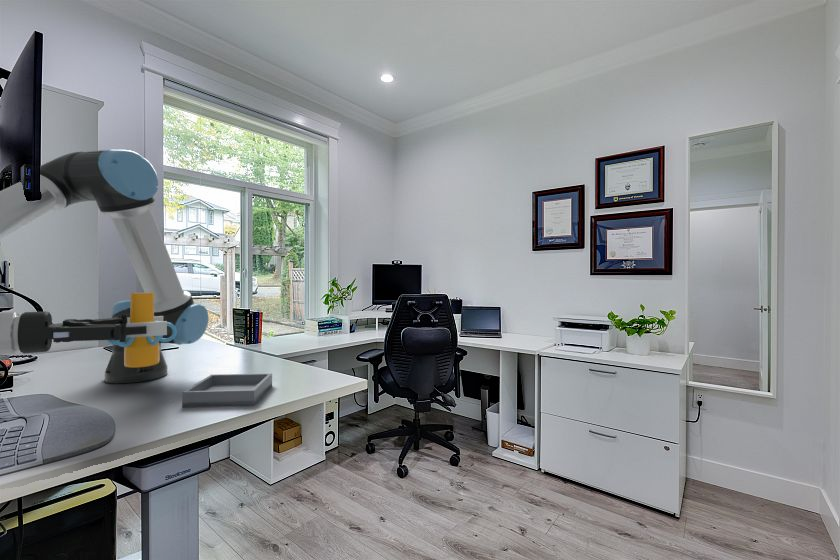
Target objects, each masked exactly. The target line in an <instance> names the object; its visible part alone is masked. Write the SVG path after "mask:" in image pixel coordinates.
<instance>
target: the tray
mask: <svg viewBox="0 0 840 560" xmlns="http://www.w3.org/2000/svg"><path fill="white" fill-rule="evenodd" d="M272 387H273V373H238V374H237V373H236V374H235V373H234V374H233V373H230V374H229V373H227V374H226V373H225V374H224V373H223V374H210V375H209V376H207V377H204V378H203V379H202V380H199V381H198V382H197V383H195V384H193V385H192V386H190V387H189V388H187V389H185V390H183V391H182V392H181V394H182V395H181V397H182V399H181V402H182V403H181V408H202V407H203V408H205V407H207V408H208V407H209V408H210V407H241V406H243V407H244V406H255V405H256V404H257V403H258V402H259V401H260V400H261V399H262V397H264V396H265V394H267V393H268V392H269V390H270V389H272Z"/></svg>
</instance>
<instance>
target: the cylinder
mask: <svg viewBox="0 0 840 560" xmlns="http://www.w3.org/2000/svg"><path fill="white" fill-rule="evenodd" d="M129 296H130V323H143V322H154V293H153V292H144V291H141V292H140V291H139V292H130V295H129ZM155 322H160V321H155ZM115 325H120V324H115ZM167 326H169V327H171V329H172V330H173V333H172V335H171V336H170V337H169V338H165V339H164V338H162V337H163V335H160V336H146V337H131V338H126V342H127V343H126V342H120V340H116V341H114V340H106V341H107V342H108V343H109V344H111V345H112V344H114V345H119V346H121V347H124V366H125V367H131V368H132V367H133V368H134V367H146V366H152V365H155V364H158V363H159V359H160V345H159V341H160V342H169V341H171V340H173V339H174V338H175V336H176V334H177V329H176V327H175V326H174V325H173V324H171V323H168V322H167Z"/></svg>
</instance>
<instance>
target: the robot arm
mask: <svg viewBox="0 0 840 560" xmlns="http://www.w3.org/2000/svg"><path fill="white" fill-rule="evenodd" d="M158 186H159V178H158V174H157V171H156V169H155V168H154V167H153V165H152V163H151V162H150V161H149V160H147V159H146V157H144V156H142V155H140V154H139V153H138V152H136V151H134V150H133V151H132V150H127V149H115V148H113V149H102V150H100V149H99V150H90V151H74V152H70V153H67V154H63V155H61V156H59V157H56V158H54V159H51V160H50V161H48V162H45V163H43V164H42V165H40V190H41V194H42V198H41V200H40V201H38V202H36V203H35V202H30V201H27V200H26V197H25V195H24V190H23V185H22V183H21V182H20V181H19V182H16V183H14V184H12V185H10V186H9V187H6V188H4V189H1V190H0V240H1V239H2V238H4V237H6V236H7V235H9V234H11V233H13V232H14V231H17V230H18V229H20V228H21V227H23V226H25V225H27V224H28V223H29V224H30V222H32V221H34V220H37V218H40V217H41V216H43V215H44V214H46V213H48V212H50V211H51V210H53V211H61V210H63V209H65V208H67V207H69V206H71V205H74V204H78V203H82V202H88V201H89V202H91V201H92V202H94V201H95V202H96V203H95V204H96V205H97V207H98V209H99V211H100V213H101V214H104V215H107V216H108V217H110V218H111V220H112V222H113V224H114V227H115V229H116V231H117V233H118V236H119V238H120V240H121V242H122V244H123V247H124V250H125V252H126V254H127V256H128V258H129V261H130V263H131V265H132V268H133V269H134V271H135V274H136V276H137V279H138V281H139V283H140V285H141V288H142V290H143V292H153V293H154V322H143V323H130V300H129V299H128V300H121V301H118V302H115V303H114V304H113V306H112V314H111V317H107V318H95V319H91V318H82V319H81V318H80V319H77V318H75V319H74V318H67V319H64V320H62V322H60V323H59V322H58V323H53V318H52V314H51V313H50V312H49V311H24V312H23V313H21V314H19V313H18V312H17V311H16V312H15V311H14V312H13V311H10V312H9V311H8V312H0V359H1V358H2V356H9V355H16V354H17V353H18V352H20V353H22V354H35V353H36V354H38V353H46V352H49V351H50V349H51V348H52V344H53V343H56V344H58V343H70V342H83V341H84V342H85V341H89V342H90V341H91V342H93V341H107V340H114V341H116V340H120V342H126V338H131V337H146V336H160V335H163V337H162V338H164V339H165V338H169V337H170V336H171V335H172V333H173V330H172V329H171V327H169V326H167V322H168V323H171V324H173V325H174V326H175V327H176V329H177V334H176V336H175V338H174V339H173V340H171V341H169V342H160V341H159V345H160V359H159V363H158V364H155V365H152V366H146V367H134V368H133V367H132V368H131V367H125V366H124V347H121V346H119V345H114V344H111V346H112V351H111V355H110V357H109V361H108V364H107V367H106V368H105V371H104V382H105V383H109V384H131V383H133V384H134V383H139V382H146V381H150V380H151V381H152V380H156V379H160V378H162V377H165V376H166V375H168V365H167V361H166V359H165V357H164V354H163V352H162V348H161V347H162V346H161V344H173V345H174V344H175V345H189V344H193V343H196V342H197V341H199V340H200V339H201V338H202V337H203V336H204V334H205V333H206V330H207V327H208V325H209V313H208V310H207V307H205V306H204V305H202V304H200V303H196V302H194V299H193V296H192V294H191V293H190V292H189V291H188V290H187V291H186V290H184V289H183V287H182V284H181V281H180V279H179V277H178V275H177V272H176V270H175V266H174V265H173V262H172V260H171V259H172V258H171V257H170V254H169V252H168V249H167V246H166V244H165V241H164V239H163V238H164V237H162V234H161V231H160V228H159V226H158V224H157V220H156V219H155V215H154V213H153V211H152V208H153V206H154V205H155V203H156V200H155V197H154V196H155V195H156V194H157V192H158V189H159V188H158ZM33 204H34V205H33ZM155 321H160V322H155ZM115 324H120V325H115ZM126 343H127V342H126Z"/></svg>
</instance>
